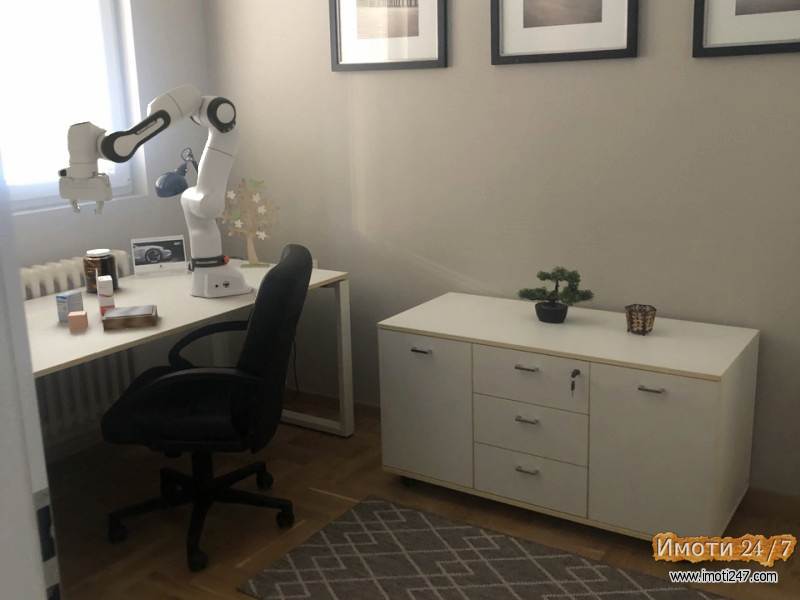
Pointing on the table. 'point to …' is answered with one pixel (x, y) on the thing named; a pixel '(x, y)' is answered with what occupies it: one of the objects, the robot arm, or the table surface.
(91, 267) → the jar
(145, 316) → the walnut riser
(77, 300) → the medicine box
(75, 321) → the terracotta cube
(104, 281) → the ink cartridge box
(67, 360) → the table surface
